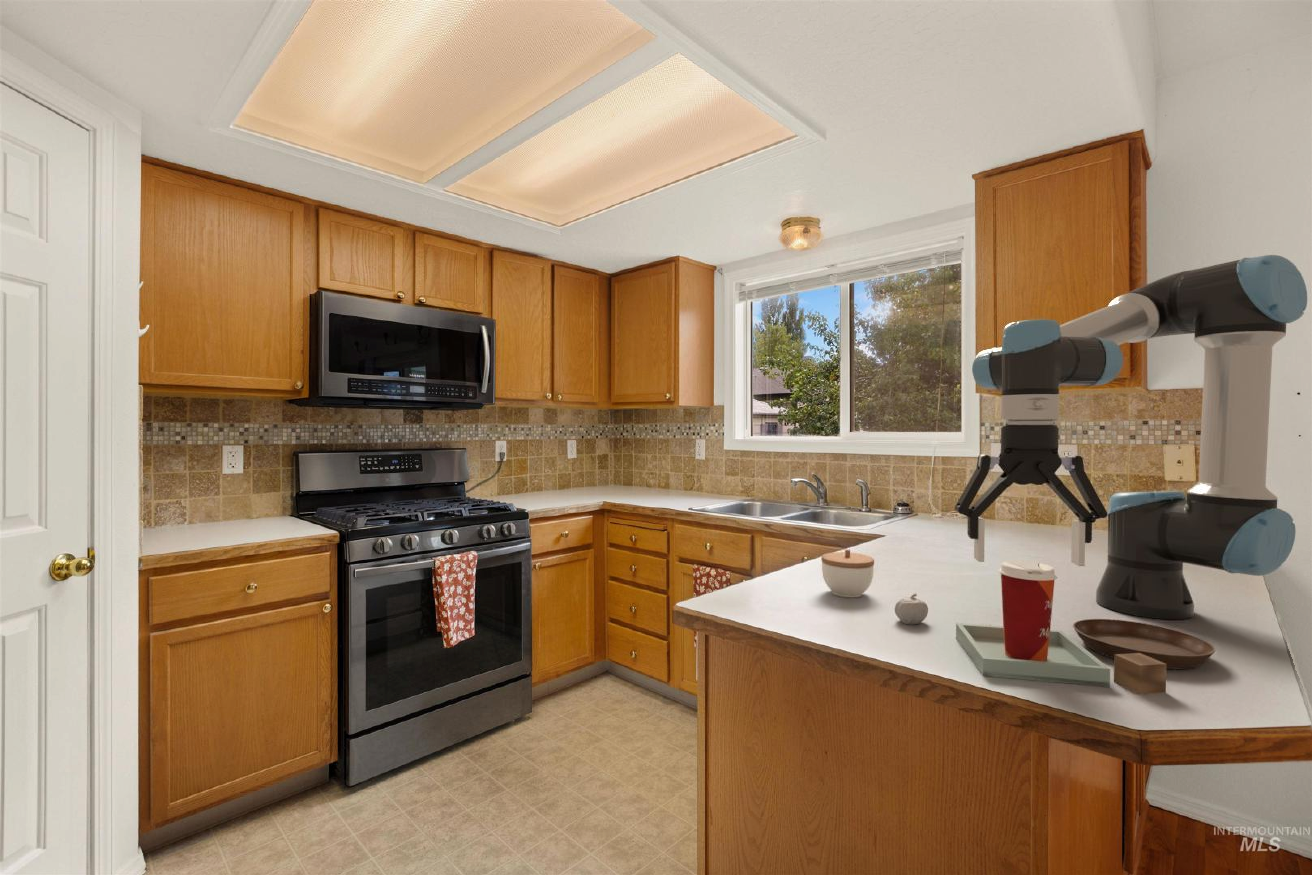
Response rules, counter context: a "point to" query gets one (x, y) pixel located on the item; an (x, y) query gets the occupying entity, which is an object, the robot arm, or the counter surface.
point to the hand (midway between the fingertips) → (1027, 562)
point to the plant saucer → (1144, 642)
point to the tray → (1061, 665)
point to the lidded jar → (847, 573)
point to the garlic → (911, 610)
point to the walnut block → (1140, 673)
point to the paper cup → (1027, 608)
